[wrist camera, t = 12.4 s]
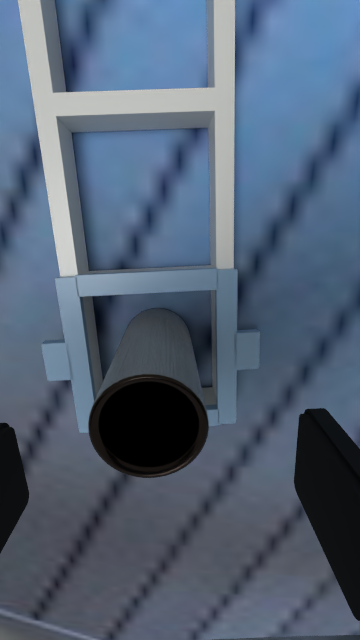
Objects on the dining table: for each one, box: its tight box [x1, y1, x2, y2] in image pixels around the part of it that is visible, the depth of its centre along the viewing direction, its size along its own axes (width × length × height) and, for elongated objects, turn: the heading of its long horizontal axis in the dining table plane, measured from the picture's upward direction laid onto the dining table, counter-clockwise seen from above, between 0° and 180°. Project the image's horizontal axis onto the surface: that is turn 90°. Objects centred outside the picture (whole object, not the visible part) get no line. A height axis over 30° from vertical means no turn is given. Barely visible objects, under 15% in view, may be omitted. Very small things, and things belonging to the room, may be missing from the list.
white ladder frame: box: [18, 0, 260, 433], centre depth 17 cm, size 13×28×3 cm, turn 3°
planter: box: [88, 308, 209, 478], centre depth 16 cm, size 4×4×10 cm
